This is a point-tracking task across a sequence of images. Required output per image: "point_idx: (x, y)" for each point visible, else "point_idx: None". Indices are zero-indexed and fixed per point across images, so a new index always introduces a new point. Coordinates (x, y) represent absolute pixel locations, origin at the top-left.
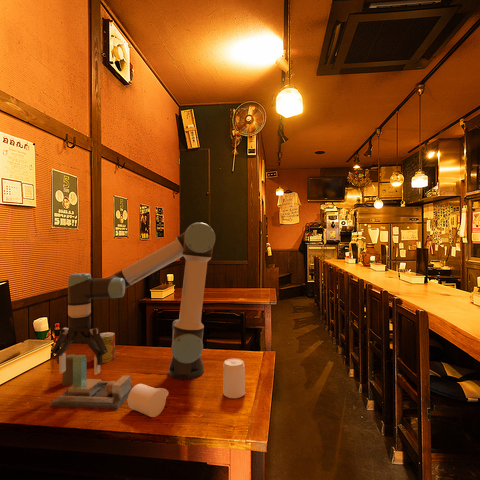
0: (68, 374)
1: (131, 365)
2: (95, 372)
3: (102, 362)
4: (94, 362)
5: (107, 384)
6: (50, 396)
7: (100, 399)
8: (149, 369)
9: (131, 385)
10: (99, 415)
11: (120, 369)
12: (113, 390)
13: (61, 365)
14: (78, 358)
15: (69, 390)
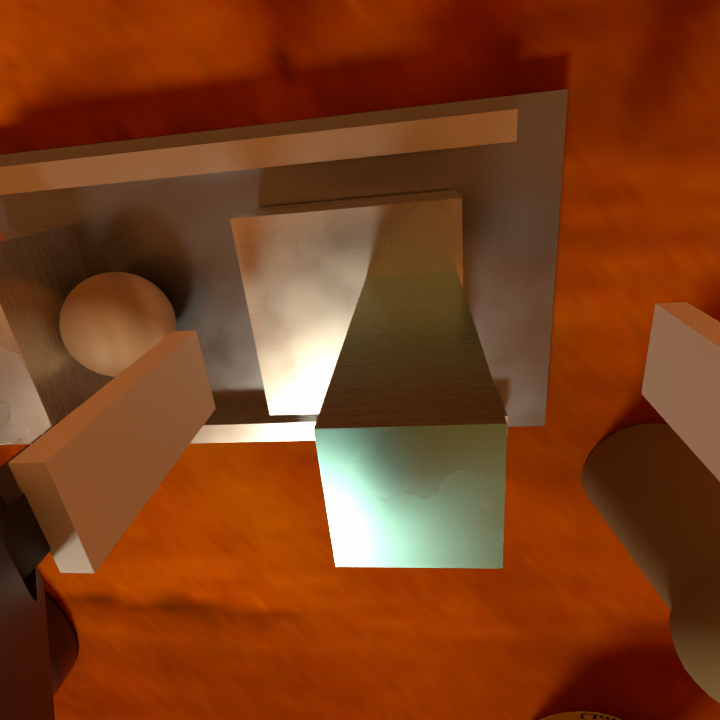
0: (671, 491)
1: (350, 684)
2: (165, 341)
3: (569, 715)
4: (104, 405)
5: (114, 312)
6: (676, 250)
7: (99, 157)
8: (206, 644)
9: None
10: (46, 32)
11: (386, 642)
12: (6, 239)
13: (716, 360)
14: (374, 420)
15: (446, 198)
